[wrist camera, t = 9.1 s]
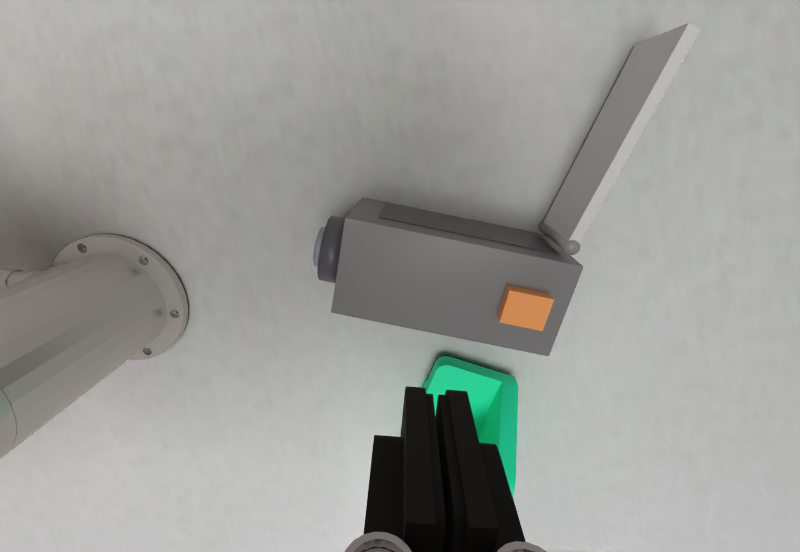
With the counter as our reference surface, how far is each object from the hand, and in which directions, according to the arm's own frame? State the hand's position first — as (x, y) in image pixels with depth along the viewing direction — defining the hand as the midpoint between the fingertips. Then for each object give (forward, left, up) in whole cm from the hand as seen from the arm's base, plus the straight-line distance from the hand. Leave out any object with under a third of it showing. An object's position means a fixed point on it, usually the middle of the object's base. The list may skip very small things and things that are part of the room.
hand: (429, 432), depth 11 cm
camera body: (+1, -2, -25) cm, 25 cm away
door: (+11, +9, -24) cm, 28 cm away
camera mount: (+7, -18, -25) cm, 31 cm away
